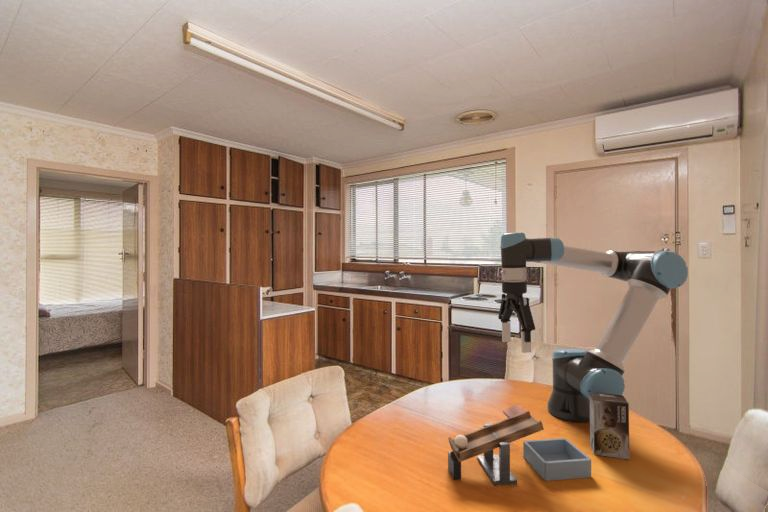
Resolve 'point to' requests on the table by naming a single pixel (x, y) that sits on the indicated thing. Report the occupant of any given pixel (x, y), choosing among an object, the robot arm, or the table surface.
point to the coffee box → (609, 425)
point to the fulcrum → (488, 465)
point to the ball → (461, 441)
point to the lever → (498, 433)
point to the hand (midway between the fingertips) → (515, 346)
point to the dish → (556, 459)
